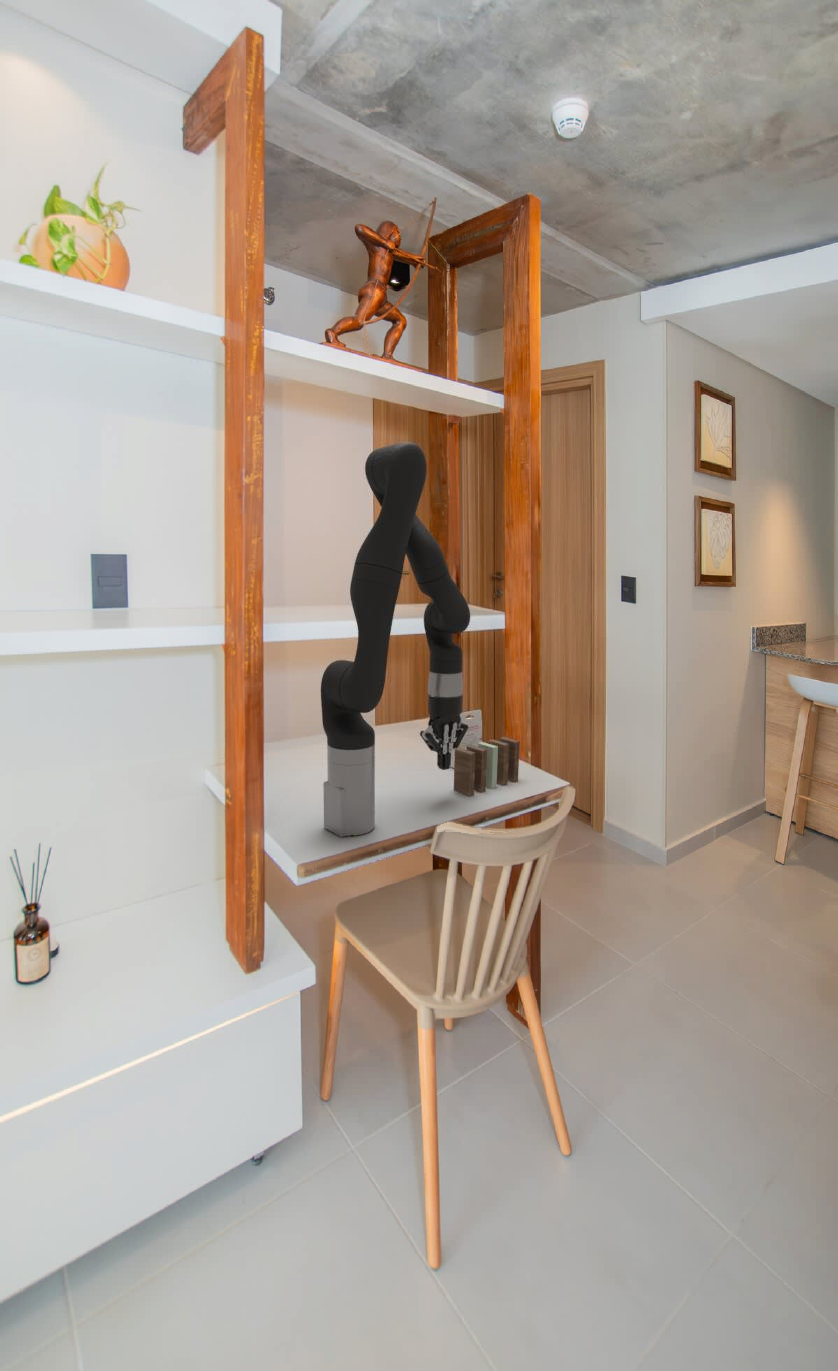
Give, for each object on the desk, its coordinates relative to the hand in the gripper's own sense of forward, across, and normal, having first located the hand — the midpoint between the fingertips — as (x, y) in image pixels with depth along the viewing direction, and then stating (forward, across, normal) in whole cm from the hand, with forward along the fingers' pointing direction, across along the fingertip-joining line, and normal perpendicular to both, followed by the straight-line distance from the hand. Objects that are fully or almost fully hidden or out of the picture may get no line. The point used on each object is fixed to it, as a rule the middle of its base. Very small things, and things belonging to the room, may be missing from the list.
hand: (443, 768), depth 146 cm
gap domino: (+7, -14, 0) cm, 16 cm away
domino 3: (+7, -18, 0) cm, 19 cm away
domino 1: (+7, -6, 0) cm, 10 cm away
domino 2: (+7, -10, 0) cm, 13 cm away
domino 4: (+7, -22, 0) cm, 23 cm away
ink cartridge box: (+7, -21, -15) cm, 27 cm away
